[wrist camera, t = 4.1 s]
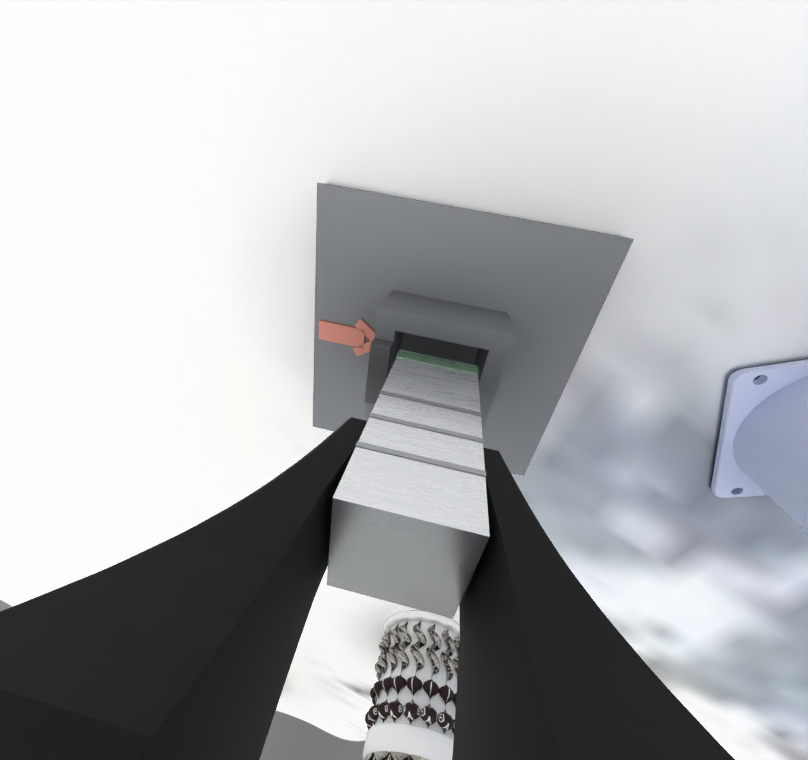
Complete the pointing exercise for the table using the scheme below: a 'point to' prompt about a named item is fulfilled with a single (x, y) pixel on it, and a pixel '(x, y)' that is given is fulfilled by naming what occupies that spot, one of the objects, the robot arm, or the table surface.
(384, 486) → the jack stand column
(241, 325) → the table surface
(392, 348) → the grey socket base
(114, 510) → the table surface
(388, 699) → the decorative candle
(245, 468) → the table surface
